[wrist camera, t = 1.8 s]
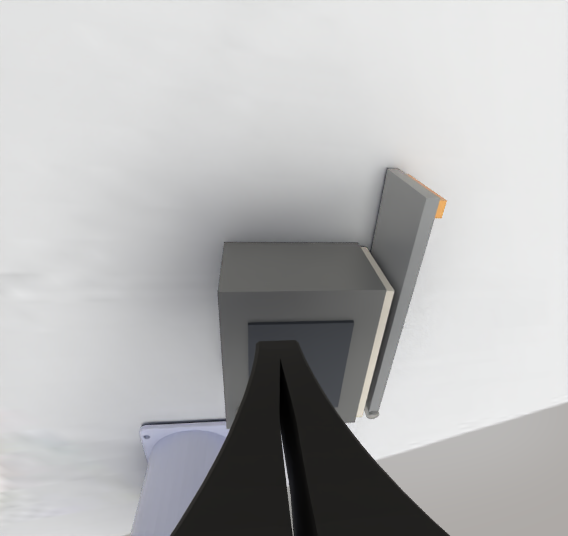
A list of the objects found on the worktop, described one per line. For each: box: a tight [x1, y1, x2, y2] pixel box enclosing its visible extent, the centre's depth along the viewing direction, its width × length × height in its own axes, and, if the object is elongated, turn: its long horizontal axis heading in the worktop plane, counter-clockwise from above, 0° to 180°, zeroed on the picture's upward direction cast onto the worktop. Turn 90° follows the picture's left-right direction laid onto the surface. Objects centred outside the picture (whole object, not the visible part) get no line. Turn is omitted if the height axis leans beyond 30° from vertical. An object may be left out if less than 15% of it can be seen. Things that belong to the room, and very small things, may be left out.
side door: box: [364, 169, 447, 419], centre depth 20 cm, size 14×1×5 cm, turn 177°
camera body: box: [218, 242, 394, 431], centre depth 21 cm, size 11×8×6 cm
